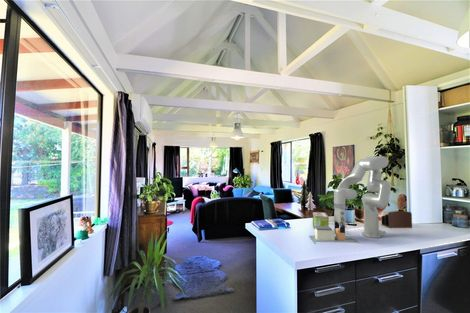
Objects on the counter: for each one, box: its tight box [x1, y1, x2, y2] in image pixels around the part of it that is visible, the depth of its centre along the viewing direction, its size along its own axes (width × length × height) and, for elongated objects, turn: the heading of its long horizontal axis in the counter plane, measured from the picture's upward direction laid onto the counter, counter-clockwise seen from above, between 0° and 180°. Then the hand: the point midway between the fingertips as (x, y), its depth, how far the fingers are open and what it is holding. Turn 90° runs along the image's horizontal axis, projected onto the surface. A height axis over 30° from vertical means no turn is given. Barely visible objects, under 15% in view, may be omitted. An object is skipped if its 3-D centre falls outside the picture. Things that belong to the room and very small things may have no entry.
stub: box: [335, 227, 346, 240], centre depth 161 cm, size 5×4×7 cm
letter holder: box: [381, 210, 413, 229], centre depth 197 cm, size 10×20×14 cm, turn 91°
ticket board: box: [308, 226, 360, 245], centre depth 162 cm, size 30×14×9 cm, turn 87°
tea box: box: [312, 211, 330, 233], centre depth 181 cm, size 15×10×15 cm, turn 168°
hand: (339, 230), depth 161 cm, fingers open, 9 cm apart
